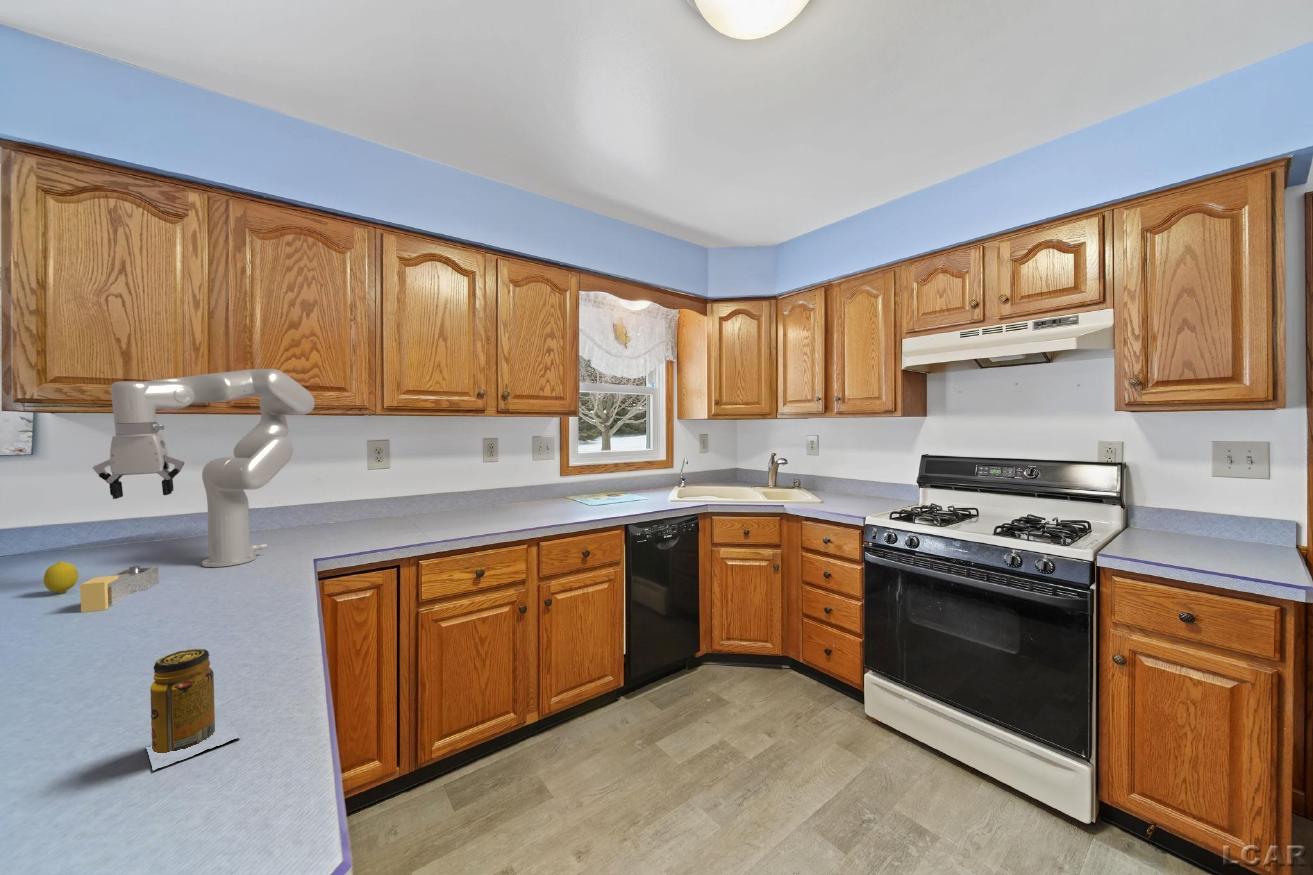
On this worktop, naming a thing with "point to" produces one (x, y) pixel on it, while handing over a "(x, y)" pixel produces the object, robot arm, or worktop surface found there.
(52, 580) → the lemon
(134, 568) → the cylinder
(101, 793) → the worktop surface
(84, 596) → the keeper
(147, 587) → the link
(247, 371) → the robot arm
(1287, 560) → the worktop surface
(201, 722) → the condiment
